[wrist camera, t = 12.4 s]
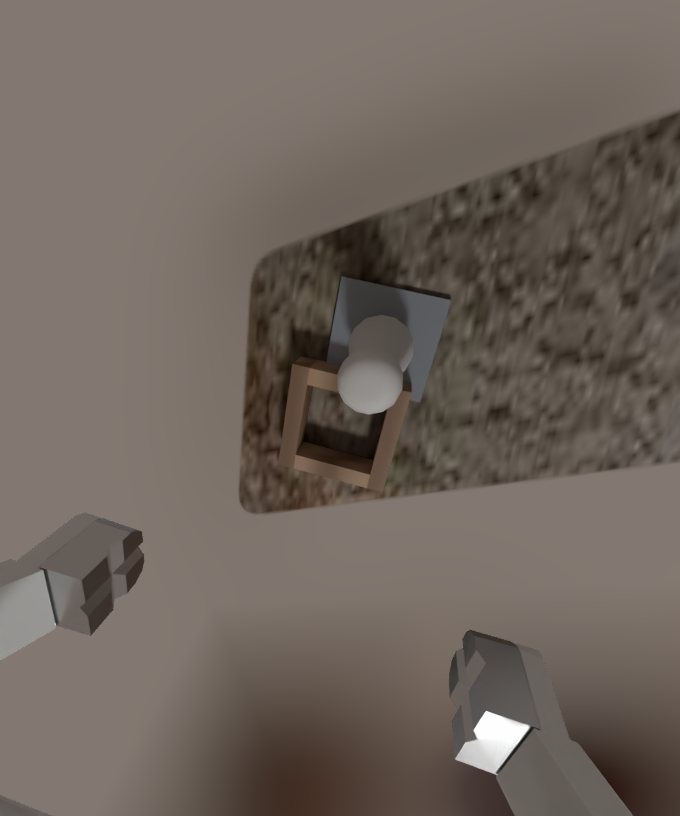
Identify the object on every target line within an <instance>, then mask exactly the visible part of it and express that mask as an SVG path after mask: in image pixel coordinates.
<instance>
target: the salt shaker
mask: <svg viewBox="0 0 680 816" xmlns="http://www.w3.org/2000/svg"><path fill="white" fill-rule="evenodd" d="M348 345H349V356H348V357H347V358H346V359H345V360H344V361H343V363H342V365H341V367H340V369H339V371H338V374H337V382H338V392H339V394H340V395H341V397H342V399H343V401H344V403H345V404H347V405H348V406H349V407H351V408H352V409H353V410H355V411H357V412H361V413H365V414H374V413H380V412H383V411H385V410H386V409H388V408H389V407H391V406H392V405H394V403H395V402H396V400H397V398H398V396H399V395H400V393H401V391H402V386H403V372H404V371H405V370H406V368H407V366H408V364H409V362H410V361H411V359H412V357H413V345H414V341H413V339H412V337H411V334H410V332H409V330H408V328H407V327H406V326H405V325H404V324H402V323H401V322H400V321H399V320H398V319H396V318H394V317H389V316H385V315H378V316H373V317H369V318H366V319H364V320H363V321H362V322H361V323H360V324H359V325H357V326H356V327H355V328H354V330H353V332H352V334H351V336H350V339H349V341H348Z"/></svg>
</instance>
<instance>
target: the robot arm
mask: <svg viewBox="0 0 680 816" xmlns="http://www.w3.org/2000/svg"><path fill="white" fill-rule="evenodd" d="M142 542H143V536H142V531H139V530H136V529H133V528H130V527H127V526H124V525H121V524H118V523H115V522H112V521H109V520H106V519H103V518H100V517H97V516H94V515H91V514H87V513H82V514H79V515H76V516H75V517H74V518H72V519H71V520H70V521H68V522H67V523H66V524H65V525H63V526H62V527H60V528H59V529H58V530H56V531H55V532H54V533H53V534H51V535H50V536H49V537H47V538H46V539H45V540H43V541H42V542H41V543H40V544H38V545H37V546H35V547H34V548H33V549H32V550H30V551H29V552H28V553H27V554H25V555H24V556H23V557H21V558H20V559H19V560H17V561H15V560H12V559H10V560H7V561H4V562H2V563H0V660H1V659H3V658H5V657H7V656H9V655H10V654H12V653H14V652H15V651H17V650H19V649H21V648H22V647H24V646H26V645H27V644H29V643H31V642H33V641H34V640H36V639H38V638H40V637H41V636H43V635H45V634H47V633H48V632H50V631H52V630H53V629H55V628H56V625H57V626H60V627H63V628H67V629H70V630H73V631H77V632H80V633H83V634H87V635H90V636H91V635H92V634H93V633H94V632H95V630H96V629H97V628H98V627H99V626H100V625H101V623H102V622H103V621H104V620H105V619H106V617H107V616H108V615H109V614H110V613H111V612H112V611H113V608H114V599H116V598H118V597H120V596H122V595H124V594H127V593H128V592H129V590H130V589H131V588H132V587H133V586H134V584H135V583H136V581H137V579H138V577H139V575H140V574H141V572H142V569H143V564H144V554H143V553H142V551H141V550H140V548H139V547H138V546H139V545H140V544H141V543H142ZM462 641H463V648H462V649H460V650H458V651H456V652H455V655H454V657H453V659H452V661H451V667H450V672H449V693H450V698H451V700H452V702H453V703H454V706H455V707H456V709H457V712H456V714H455V716H454V718H453V719H452V731H453V742H454V755H455V759H456V760H458V761H461V762H464V763H467V764H469V765H472V766H475V767H477V768H480V769H483V770H485V771H488V772H491V773H493V774H496V775H497V776H496V778H497V781H498V783H499V785H500V787H501V789H502V791H503V793H504V795H505V797H506V799H507V801H508V803H509V805H510V807H511V809H512V811H513V813H514V815H515V816H633V815H632V814H631V813H630V811H629V810H628V808H627V807H626V806H625V805H624V803H623V802H622V801H621V799H620V798H619V797H618V795H617V794H616V793H615V791H614V790H613V789H612V787H611V786H610V785H609V784H608V782H607V781H606V780H605V778H604V777H603V776H602V775H601V773H600V772H599V770H598V769H597V768H596V766H595V765H594V764H593V762H592V761H591V760H590V758H589V757H588V756H587V755H586V753H585V752H584V750H583V749H582V748H581V747H580V745H579V744H578V743H577V742H574V741H571V740H570V739H569V736H568V733H567V730H566V727H565V724H564V720H563V717H562V714H561V712H560V708H559V705H558V702H557V699H556V696H555V693H554V690H553V687H552V684H551V681H550V678H549V674H548V671H547V669H546V665H545V662H544V659H543V656H542V655H541V653H540V652H539V651H538V650H535V649H532V648H529V647H525V646H522V645H519V644H515V643H513V642H511V641H507V640H504V639H500V638H497V637H493V636H490V635H486V634H483V633H479V632H476V631H472V630H469V631H467V632H466V633H465V635H464V637H463V639H462ZM0 816H51V815H49V814H47V813H44V812H41V811H39V810H36V809H34V808H31V807H29V806H26V805H24V804H21V803H19V802H16V801H14V800H11V799H9V798H6V797H4V796H1V795H0Z"/></svg>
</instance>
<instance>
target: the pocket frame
mask: <svg viewBox="0 0 680 816" xmlns="http://www.w3.org/2000/svg"><path fill="white" fill-rule="evenodd" d="M339 369H340V366H336V365H332V364H328V363H326V362H325V361H321V360H317V359H312V358H308V357H304V356H300V357H299V358H298V359H297V360H296V361H295V362H294V363H293V364H292V370H291V377H290V384H289V392H288V399H287V406H286V413H285V420H284V428H283V435H282V442H281V449H280V456H279V463H278V464H280V465H283V466H287V467H291V468H294V469H298V470H302V471H305V472H309V473H313V474H317V475H320V476H324V477H328V478H331V479H335V480H339V481H342V482H346V483H350V484H353V485H357V486H361V487H365V488H368V489H372V490H376V491H379V492H383V489H384V485H385V482H386V478H387V475H388V472H389V468H390V465H391V461H392V458H393V455H394V451H395V448H396V444H397V441H398V438H399V434H400V431H401V427H402V424H403V420H404V417H405V414H406V410H407V407H408V403H409V400H410V397H411V393H412V384H411V383H407V382H403V386H402V391H401V393H400V395H399V396H398V398H397V400H396V402H395V403H394V405H392V406H391V407H389V408H388V409H386V413H385V417H384V421H383V424H382V428H381V432H380V436H379V439H378V443H377V447H376V450H375V454H374V458H373V460H372V459H368V458H364V457H360V456H356V455H353V454H349V453H345V452H341V451H337V450H334V449H330V448H326V447H322V446H318V445H315V444H311V443H307V442H304V436H305V430H306V424H307V418H308V412H309V406H310V400H311V394H312V388H313V386H314V387H318V388H322V389H326V390H331V391H335V392H338V382H337V374H338V371H339Z"/></svg>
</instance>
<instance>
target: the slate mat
mask: <svg viewBox="0 0 680 816" xmlns="http://www.w3.org/2000/svg"><path fill="white" fill-rule="evenodd" d="M450 303H451V300H450V299H445V298H440V297H436V296H431V295H427V294H422V293H417V292H413V291H408V290H404V289H399V288H394V287H390V286H385V285H381V284H376V283H371V282H367V281H362V280H358V279H353V278H348V277H344V276H342V277H341V282H340V288H339V293H338V299H337V305H336V310H335V316H334V321H333V327H332V332H331V338H330V343H329V349H328V355H327V360H326V363H328V364H332V365H336V366H340V367H341V365H342V363H343V361H344V360H345V359H346V358H347V357H348V356H349V345H348V341H349V339H350V336H351V334H352V332H353V330H354V328H355V327H356V326H357V325H359V324H360V323H361V322H362V321H363V320H364V319H366V318H369V317H373V316H378V315H385V316H389V317H394V318H396V319H398V320H399V321H400V322H401V323H402V324H404V325H405V326H406V327H407V328H408V330H409V332H410V334H411V337H412V339H413V341H414V345H413V357H412V359H411V361H410V362H409V364H408V366H407V368H406V370H405V371H404V372H403V382H407V383H411V384H412V393H411V397H410V400H412V401H416V402H420V401H421V398H422V394H423V391H424V388H425V385H426V381H427V378H428V375H429V372H430V368H431V365H432V362H433V359H434V355H435V352H436V349H437V346H438V342H439V339H440V336H441V333H442V329H443V326H444V323H445V320H446V316H447V313H448V310H449V307H450Z"/></svg>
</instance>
